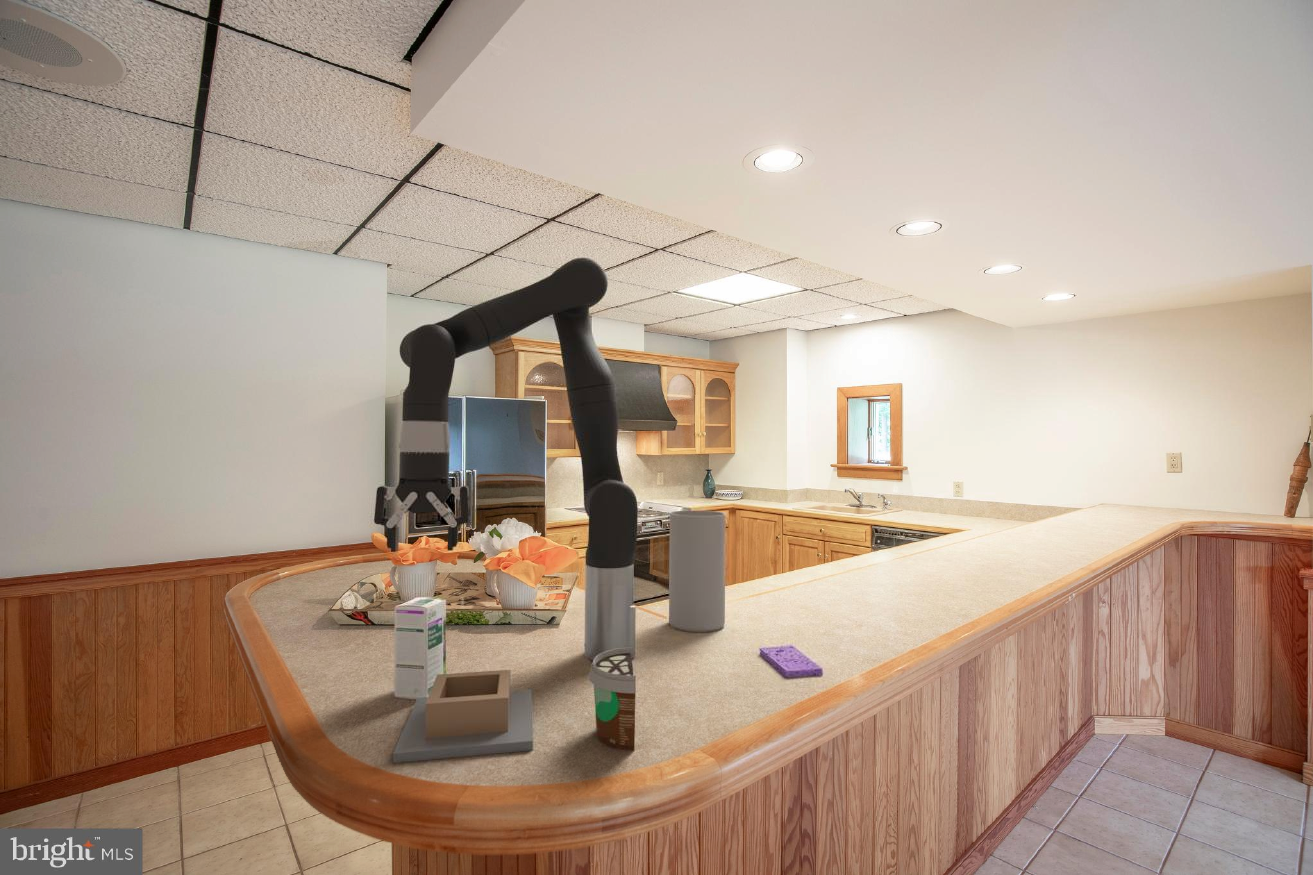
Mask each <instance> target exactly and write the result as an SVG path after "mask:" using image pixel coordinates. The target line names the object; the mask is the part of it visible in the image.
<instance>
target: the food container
mask: <svg viewBox="0 0 1313 875" xmlns="http://www.w3.org/2000/svg"><path fill="white" fill-rule="evenodd" d="M632 659H633V658H632V647H628V648H618V649H613V650H609V651H605V652H603V653H601V654H599V655H597V656H596V657H595V658H594V660H592V663H591V665H590V669H589V674H588V680H589V681H590V682H591V683H590V684H592V685H593V692H594V709H595V710H594V711H595V727H596V729H595V730H596V738H597V740H598V741H599V743H601V744H603V746H606V747H607V748H612V749H614V750H615V749H616V750H620V751H635V746H636V744H635V737H636V733H635V732H636V731H635V730H636V690H637V689H636V687H637V686H636V680H637V678H636V675H634V667H633V660H632Z"/></svg>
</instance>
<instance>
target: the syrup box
mask: <svg viewBox="0 0 1313 875" xmlns="http://www.w3.org/2000/svg"><path fill="white" fill-rule="evenodd" d="M446 615H447V600H446V599H445V598H441V597H432V596H431V597H430V596H424V597H423V596H421V597H414V598H413V599H411V600H409V601H405V602H404V603H402V604H401V603H400V604H397V605H395V606H394V678H393V679H394V680H393V681H394V682H393V683H394V685H393V686H394V688H393V691H394V697H396V698H400V699H408V700H417V698H425V697H429V694H430V692H431V689H432V687H433V684H434V682H435V679H436V677H437V674H447V616H446Z"/></svg>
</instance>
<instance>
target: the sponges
mask: <svg viewBox="0 0 1313 875" xmlns="http://www.w3.org/2000/svg"><path fill="white" fill-rule="evenodd" d="M759 651H760V652H759V655H760V656H761V657H762V658H763V659H765V660H766V661H767V662H768V664H770V665H771V666H772V667H774V668H775V669H776V670H777V671H778V672H779V673H780V674H781V675H782V676H783V677H785V678H790V679H791V678H793V679H794V678H803V677H804V678H805V677H808V676H809V677H814V676H823V675H824V673H823V667H822V666H820V665H819V664H817V663H816V662H815V661H813V660H812V659H811V658H809V657H808V656H806V654H804V653H803V652H802V651H800V649H798V648H797V647H795V646H794V645H793V644H789V645H787V644H786V645H780V646H770V647H769V646H768V647H766V646H765V647H759Z"/></svg>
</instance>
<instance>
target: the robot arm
mask: <svg viewBox="0 0 1313 875" xmlns="http://www.w3.org/2000/svg"><path fill="white" fill-rule="evenodd" d="M608 281H609V280H608V276H607V273H606V271H605V269H604V268H603V267H602V265H601V264H599V263H598V261H595V260H594V259H591V258H589V257H576V258H574V259H571V260H569V261H567V262H566V263H564V264H563V265H561V266H560V267H559V268H557V269H555V270H554V271H553V272H551V274H550V275H549V276H546V277H545V278H543V279H542V278H541V279H540V280H538V281H537V282H534V283H532V284H529V285H527V286H525V287H522V288H520V289H516V290H515V291H514V290H513V291H512V292H508V293H506V294H503V295H500V296H498V297H494V298H491V299H489V300H486V301H484V302H481V303H478V304H476V305H474V306H471V307H468V308H466V309H464V310H462V311H460V312H458V313H456V314H454V315H452V316H451V317H449V318H447V319H443V320H440V321H438V322H435V323H432V324H431V323H429V324H424V325H421V326H418V327H417V328H415V329H414V330H411V331H410V332H408V333H407V334H405V336H404V337H403V339H402V340H401V342H400V345H399V356H400V358H401V361H402V363H404V365H405V366H407V368H409V373H408V374H409V380H408V384H407V386H406V388H405V389H404V392H403V396H402V409H401V410H402V413H401V414H402V415H401V418H402V420H401V429H400V434H399V435H400V436H399V443H398V449H399V469H398V470H399V472H398V483H397V486H387V485H380V486H377V488H376V495H375V496H376V497H375V506H374V517H373V518H374V519H373V522H374V525H381V526H383V527H385V529H386V546H387V549H390V552H391V553H396V552H398V551H399V542H400V541H399V537H400V534H399V533H400V529H399V528H400V527H399V526H398V524H399V523H400V522H401V520H402V519H403V518H404V517H405V516H406V515H407V514H408V512H410V513H411V514H420V513H425V514H433V513H436V512H437V513H439V515H440V517H441V518H443V519H444V520H445V521H446V523H447V524H448V526H449V527H448V528H447V551H448V552H449V551H453V550H454V548H456V547H457V546H458V543H459V527H460V526H461V525H464V524H468V522H469V521H470V520H471V509H470V508H471V507H470V488H469V486H468V485H462V486H457V487H456V486H455V487H453V486H451V484H450V443H451V442H450V440H451V439H450V438H451V437H450V436H451V435H450V430H449V429H450V428H449V418H450V416H449V415H450V414H449V408H450V399H449V395H450V389H451V386H452V381H453V377H454V376H453V375H454V370H455V364H456V359H457V358H460V357H462V356H464V355H466V354H469V353H473V352H476V351H479V350H483V349H485V348H488V347H490V346H491V345H495V344H496V343H499V342H501V341H503V340H506V339H507V338H510V337H512V336H514V335H515V334H517V333H519V332H521V331H523V330H525V329H527V328H528V327H530V326H532V325H534V324H536V323H538V322H539V321H542V320H543V319H546V318H548V317H550V316H552V317H553V321H554V324H555V328H556V332H557V337H558V341H559V342H558V343H559V347H560V352H561V353H560V354H561V360H562V365H563V366H562V367H563V372H564V377H565V386H566V392H567V394H566V395H567V399H568V405H569V406H568V407H569V411H570V417H571V422H572V426H573V429H574V430H573V431H574V434H575V440H576V443H577V447H578V450H579V455H580V461H581V470H582V472H581V473H582V484H583V485H582V486H583V487H582V488H583V505H584V511H585V513H586V515H587V517H588V536H587V538H588V540H587V547H586V550H585V568H584V569H585V570H584V571H585V575H584V576H585V578H584V580H585V581H584V584H585V585H584V588H585V589H584V643H583V644H584V645H583V647H584V656H585V658H587V659H588V660H591V661H593V660H594V658H595V657H596V656H597V655H599V654H601V653H603V652H605V651H609V650H613V649H618V648H628V647H632V659H635V658H636V610H637V609H636V605H635V604H634V583H635V582H634V578H635V577H634V574H635V573H634V569H635V568H634V566H635V564H634V563H635V554H636V550H637V543H638V520H639V519H638V516H639V515H638V512H639V511H638V500H637V496H636V494H635V492H634V490H633V489H632V488H631V487H630V486H629V485H627V484H626V483H625V482H624V480H623V476H622V471H621V466H620V462H619V455H618V432H619V409H618V408H619V407H618V399H617V392H616V386H615V380H614V377H613V374H612V371H611V369H610V367H609V365H608V363H607V361H606V359H605V358H604V356H603V355H602V353H601V351H600V349H599V347H598V346H597V344H596V342H595V341H596V340H595V339H594V336H593V331H592V325H591V319H590V318H591V317H590V308H592V307H595V305H597V304H598V303H600V302H601V301H602V299H603V298H604V297H605V295H606V293H607V290H608V284H609V282H608ZM394 494H395V495H396V497H397V498H398V500H399V501H400V503H401V504H400V505H399V507H397V509H396V510H395V512H394V513H393V514H392V516H390V517H387V511H388V510H387V508H388V501H389V500H391V499H392V498H393V495H394ZM451 494H452V495H454V496H455V499H456V501H459V503H460V504H459V505H460V507H459V508H460V516H455V514H454V512H453V511H452V509H451V508H450V507H449V505H448V504H447V503H446V501H447V500H448V499H449V497H450V496H451Z"/></svg>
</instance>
